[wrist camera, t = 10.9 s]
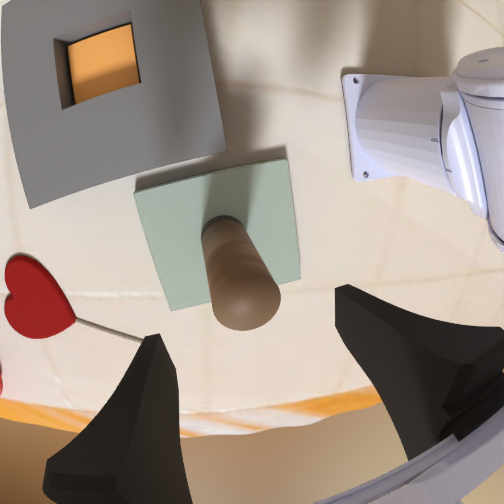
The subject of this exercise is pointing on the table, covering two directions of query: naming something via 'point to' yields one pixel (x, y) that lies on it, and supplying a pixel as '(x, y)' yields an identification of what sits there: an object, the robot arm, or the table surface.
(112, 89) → the button
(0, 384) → the plant pot
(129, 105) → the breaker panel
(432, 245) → the table surface
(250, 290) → the brown cylinder
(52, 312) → the lollipop
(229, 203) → the pad
